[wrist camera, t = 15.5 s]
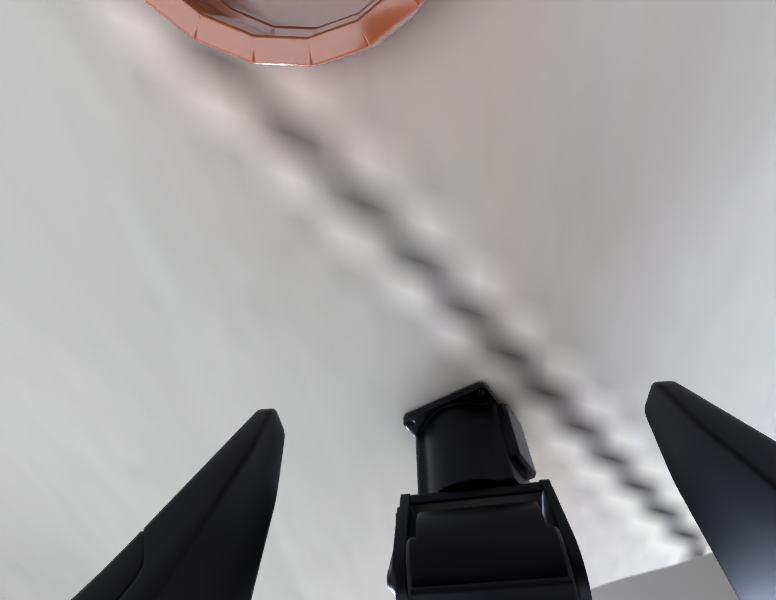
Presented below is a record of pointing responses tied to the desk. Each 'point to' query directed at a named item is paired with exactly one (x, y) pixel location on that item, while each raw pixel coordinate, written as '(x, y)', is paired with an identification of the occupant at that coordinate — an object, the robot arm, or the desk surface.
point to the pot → (288, 26)
